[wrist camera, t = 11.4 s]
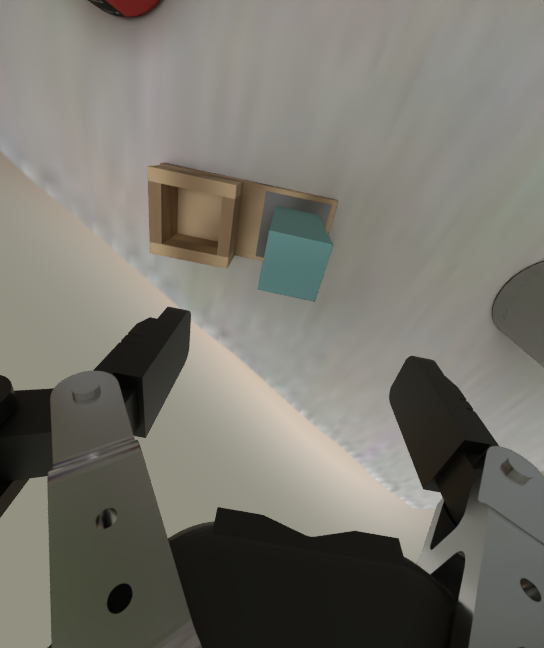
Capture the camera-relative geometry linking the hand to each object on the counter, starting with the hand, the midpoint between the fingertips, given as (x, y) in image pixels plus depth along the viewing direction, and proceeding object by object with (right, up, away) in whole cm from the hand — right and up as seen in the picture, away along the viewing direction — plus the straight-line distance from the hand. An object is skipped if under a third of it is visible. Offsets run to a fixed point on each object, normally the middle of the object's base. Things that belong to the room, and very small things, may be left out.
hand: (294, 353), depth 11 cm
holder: (-3, +11, +17) cm, 21 cm away
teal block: (+1, +10, +17) cm, 19 cm away
